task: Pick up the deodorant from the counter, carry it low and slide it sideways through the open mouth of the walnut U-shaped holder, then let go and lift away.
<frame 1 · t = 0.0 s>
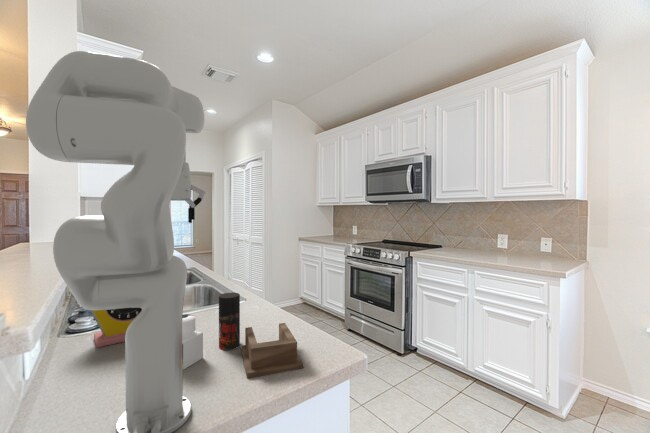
hand: (170, 222, 81), 37 cm above the counter, tool pointing down, fingers open, 9 cm apart
deodorant: (229, 346, 91), on the counter
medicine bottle: (183, 362, 82), on the counter
yellow clock: (127, 336, 98), on the counter
cradle: (270, 358, 84), on the counter
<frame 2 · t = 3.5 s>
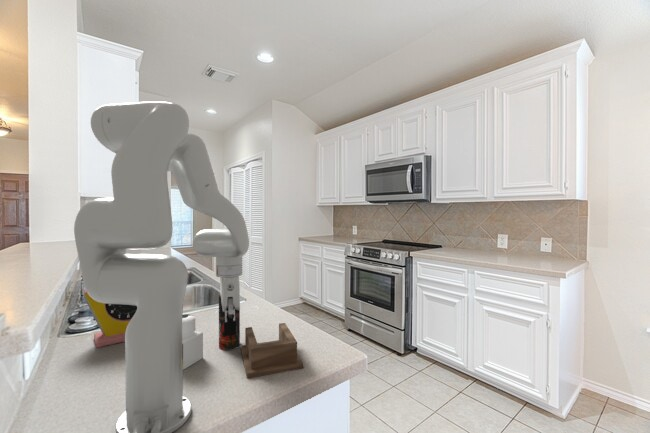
hand: (229, 330, 91), 5 cm above the counter, tool pointing down, fingers closed on deodorant, 5 cm apart
deodorant: (229, 346, 91), on the counter, touching gripper
everything else where it was.
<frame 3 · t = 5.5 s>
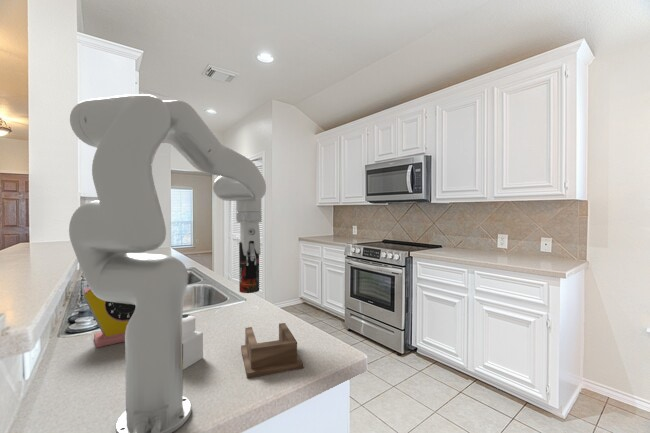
hand: (249, 275, 95), 20 cm above the counter, tool pointing down, fingers closed on deodorant, 5 cm apart
deodorant: (249, 291, 95), point 15 cm above the counter, touching gripper
everything else where it was.
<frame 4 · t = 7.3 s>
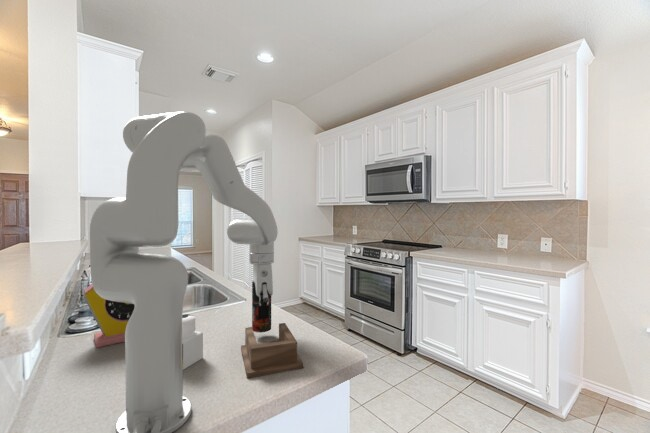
hand: (261, 314, 97), 7 cm above the counter, tool pointing down, fingers closed on deodorant, 5 cm apart
deodorant: (261, 329, 98), point 2 cm above the counter, touching gripper
everything else where it was.
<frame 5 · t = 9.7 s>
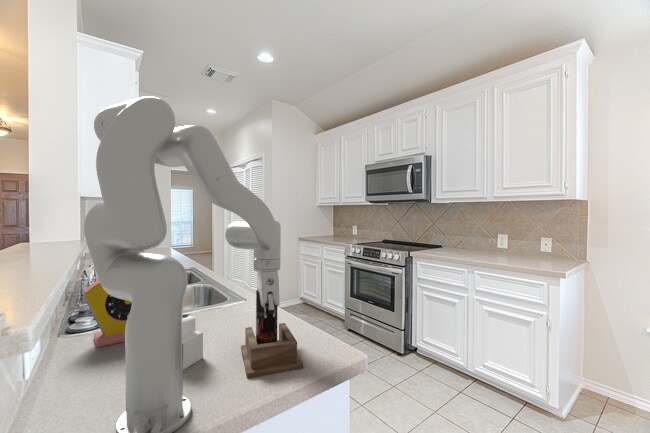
hand: (266, 326, 88), 7 cm above the counter, tool pointing down, fingers closed on deodorant, 5 cm apart
deodorant: (266, 343, 88), point 2 cm above the counter, touching gripper
everything else where it was.
when the fingers open (7 cm above the counter, at t = 11.5 s): deodorant drops 1 cm, resting on cradle.
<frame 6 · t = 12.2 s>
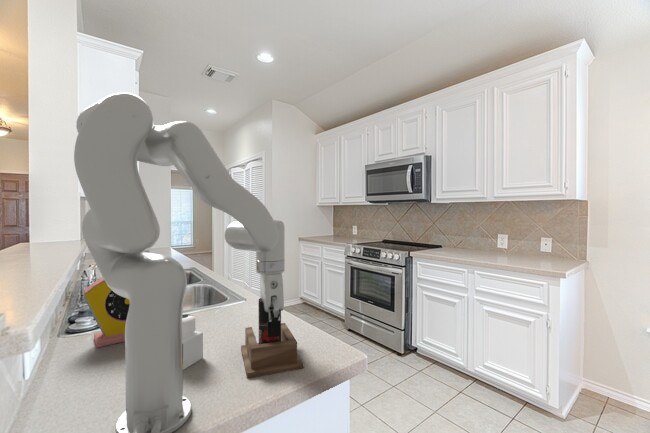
hand: (270, 329, 83), 8 cm above the counter, tool pointing down, fingers open, 9 cm apart
deodorant: (269, 355, 83), point 1 cm above the counter, touching cradle
everything else where it was.
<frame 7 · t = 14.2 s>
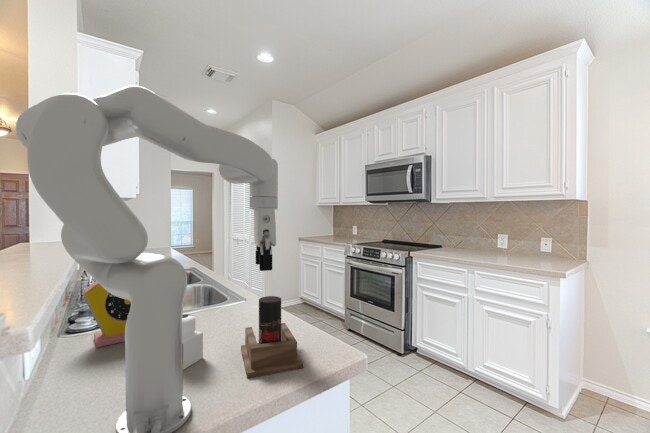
hand: (263, 267, 84), 25 cm above the counter, tool pointing down, fingers open, 9 cm apart
nothing on the counter moved.
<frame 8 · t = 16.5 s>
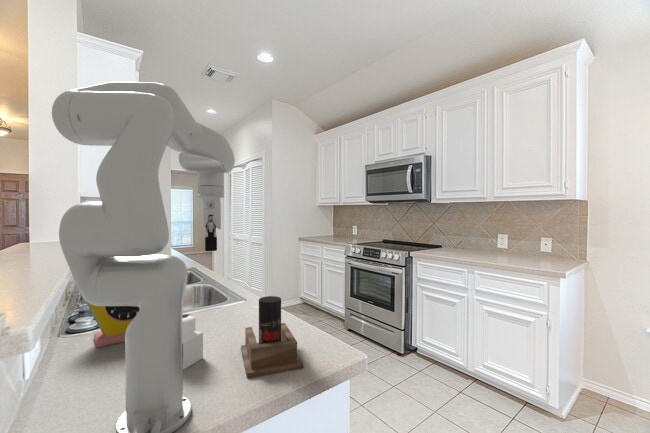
hand: (211, 248, 94), 28 cm above the counter, tool pointing down, fingers open, 9 cm apart
nothing on the counter moved.
at the end: deodorant 0.3 cm off-centre on the cradle, point 1.0 cm above the cradle's base; deodorant tilted 0°; the gripper is holding nothing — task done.
